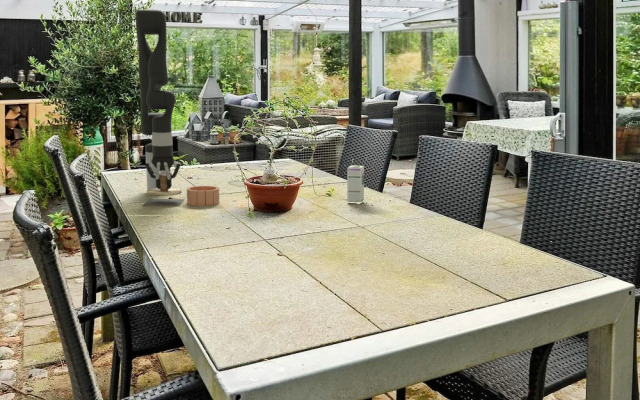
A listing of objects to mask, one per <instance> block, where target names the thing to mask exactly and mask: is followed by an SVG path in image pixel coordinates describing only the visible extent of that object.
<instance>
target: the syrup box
mask: <svg viewBox="0 0 640 400" xmlns="http://www.w3.org/2000/svg"><path fill="white" fill-rule="evenodd" d="M346 170H347V171H346V172H347V174H346V175H347V178H346V180H347V186H346V188H347V190H346V191H347V192H346V193H347V195H346V196H347V201H346V202H362V201H363V200H364V201H365V194H364V193H365V166H364V165H350V166H348V167H347V169H346Z"/></svg>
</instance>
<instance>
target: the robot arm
mask: <svg viewBox="0 0 640 400" xmlns="http://www.w3.org/2000/svg"><path fill="white" fill-rule="evenodd" d="M166 19H167V18H166V13H165V12H164V10H162V9H137V10H136V12H135V29H136V37H137V47H138V80H139V91H140V130H141V133H142V134H143V136H151V142H150V143H147V144H145V148H144V149H145V164H144V166H145V169H146V171H145V172H146V191H147V190H149V189H154V188H158V189H160V175H167V178H168V179H167V189H170V188H172V186H173V183H172V179H176V177H177V175H178V173H179V170H180V168H181V165H182V163H181V162H178V161H175V159H174V152H173V151H174V148H173V146H174V144H173V134H172V117H173V112H174V108H175V105H176V95H175V93H174V92H173V91H172V90H161V88H162V87H164V86H167V85H168V83H169V75H168V66H167V42H168V41H167V39H168V38H167V20H166ZM146 35H147V36H148V35H149V36H151V35H152V36H153V35H156V36H158V39H157V43H156V45H155V47H154V49H153V50H152V48H151V47H150V44H149V43H148V41H147V38H146ZM150 110H153V111H154V110H155V111H158V110H164V112H150ZM173 165H174V171H173V173H172V170H171V168H172V166H173Z"/></svg>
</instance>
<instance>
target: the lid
mask: <svg viewBox="0 0 640 400" xmlns="http://www.w3.org/2000/svg"><path fill="white" fill-rule="evenodd" d="M167 179H168V178H167V175H160V189H158V188H154V189H149V190H147V189H146V194H147V195H148V196H153V197H171V196H176V195H181V194H182V191H183V190H182V189H181V188H178V187H177V188H176V187H171V188H170V189H167Z"/></svg>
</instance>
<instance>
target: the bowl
mask: <svg viewBox="0 0 640 400" xmlns="http://www.w3.org/2000/svg"><path fill="white" fill-rule="evenodd" d="M186 203H187V204H188V205H190V206H198V207H201V206H202V207H204V206H205V207H208V206H214V205H218V204H220V187H218V186H214V185H194V186H191V187H187V188H186Z"/></svg>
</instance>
